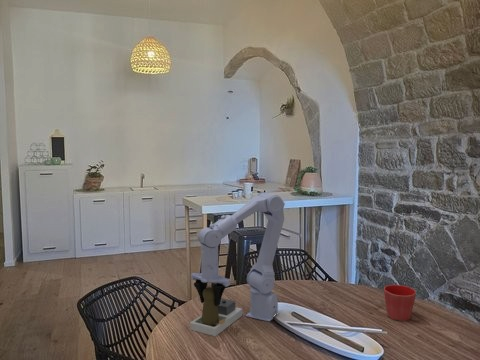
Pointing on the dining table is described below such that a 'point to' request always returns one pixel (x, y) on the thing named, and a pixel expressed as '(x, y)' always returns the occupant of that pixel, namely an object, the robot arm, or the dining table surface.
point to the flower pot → (399, 301)
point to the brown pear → (209, 307)
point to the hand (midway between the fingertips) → (210, 303)
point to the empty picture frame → (226, 318)
